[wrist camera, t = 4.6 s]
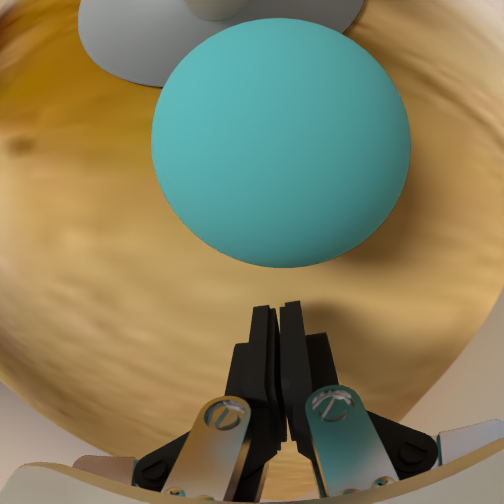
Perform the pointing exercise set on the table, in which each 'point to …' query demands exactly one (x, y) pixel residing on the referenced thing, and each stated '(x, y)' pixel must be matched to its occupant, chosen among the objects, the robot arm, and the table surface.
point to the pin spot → (180, 30)
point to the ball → (281, 143)
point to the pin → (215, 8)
